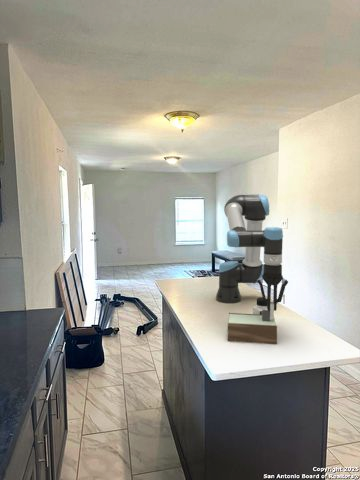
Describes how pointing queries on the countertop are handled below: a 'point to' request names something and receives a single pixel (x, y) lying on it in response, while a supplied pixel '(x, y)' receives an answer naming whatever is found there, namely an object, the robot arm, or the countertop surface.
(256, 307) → the medicine bottle
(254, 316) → the lid
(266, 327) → the box
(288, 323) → the countertop surface
